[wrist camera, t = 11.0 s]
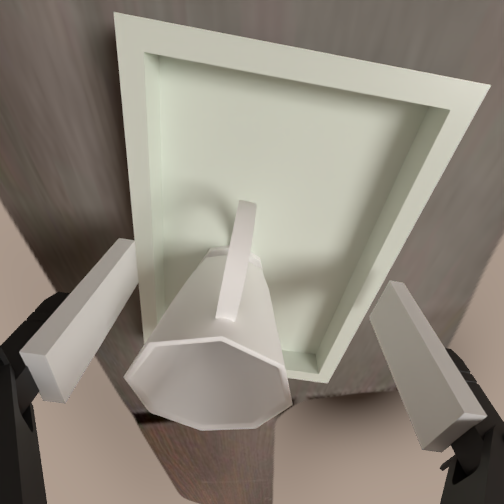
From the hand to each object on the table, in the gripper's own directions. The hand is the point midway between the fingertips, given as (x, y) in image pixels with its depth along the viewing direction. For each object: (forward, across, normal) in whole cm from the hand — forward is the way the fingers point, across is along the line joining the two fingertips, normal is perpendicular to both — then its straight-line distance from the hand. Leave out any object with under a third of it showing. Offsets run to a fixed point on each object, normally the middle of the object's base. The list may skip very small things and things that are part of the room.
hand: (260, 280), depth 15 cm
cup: (+3, -2, 0) cm, 3 cm away
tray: (+4, 0, 0) cm, 4 cm away
